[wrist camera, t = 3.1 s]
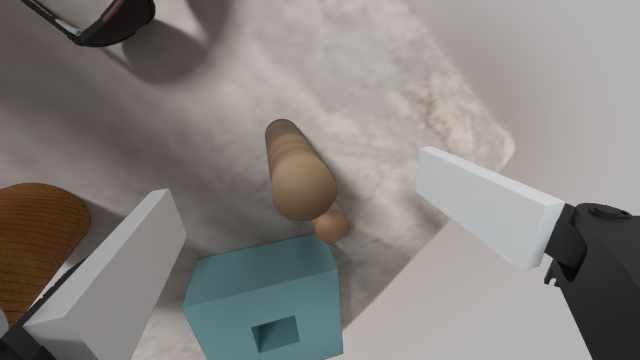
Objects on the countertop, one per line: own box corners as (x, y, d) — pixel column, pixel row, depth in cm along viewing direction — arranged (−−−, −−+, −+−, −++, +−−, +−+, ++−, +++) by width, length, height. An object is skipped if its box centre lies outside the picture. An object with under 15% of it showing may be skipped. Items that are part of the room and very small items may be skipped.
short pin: (304, 192, 25) (314, 218, 21) (332, 187, 26) (348, 211, 21) (307, 217, 27) (317, 246, 22) (334, 211, 27) (349, 238, 23)
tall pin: (262, 121, 21) (267, 169, 11) (297, 117, 22) (335, 158, 11) (268, 154, 23) (278, 226, 12) (301, 149, 23) (338, 214, 13)
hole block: (197, 259, 25) (181, 308, 20) (322, 231, 28) (337, 268, 23) (229, 338, 31) (223, 392, 26) (329, 309, 34) (343, 353, 29)
